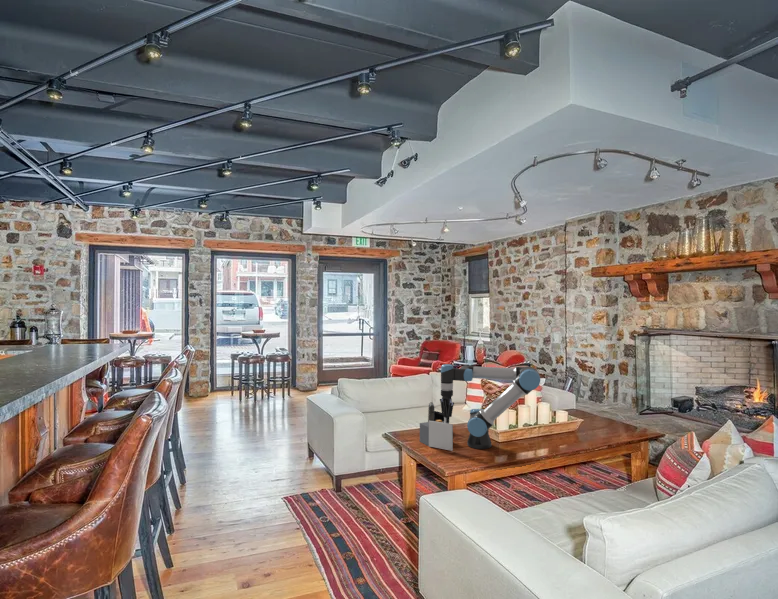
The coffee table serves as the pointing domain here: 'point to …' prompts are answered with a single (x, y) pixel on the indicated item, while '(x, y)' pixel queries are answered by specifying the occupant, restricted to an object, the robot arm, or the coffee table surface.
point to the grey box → (425, 432)
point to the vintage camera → (434, 414)
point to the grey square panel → (441, 435)
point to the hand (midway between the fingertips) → (446, 427)
